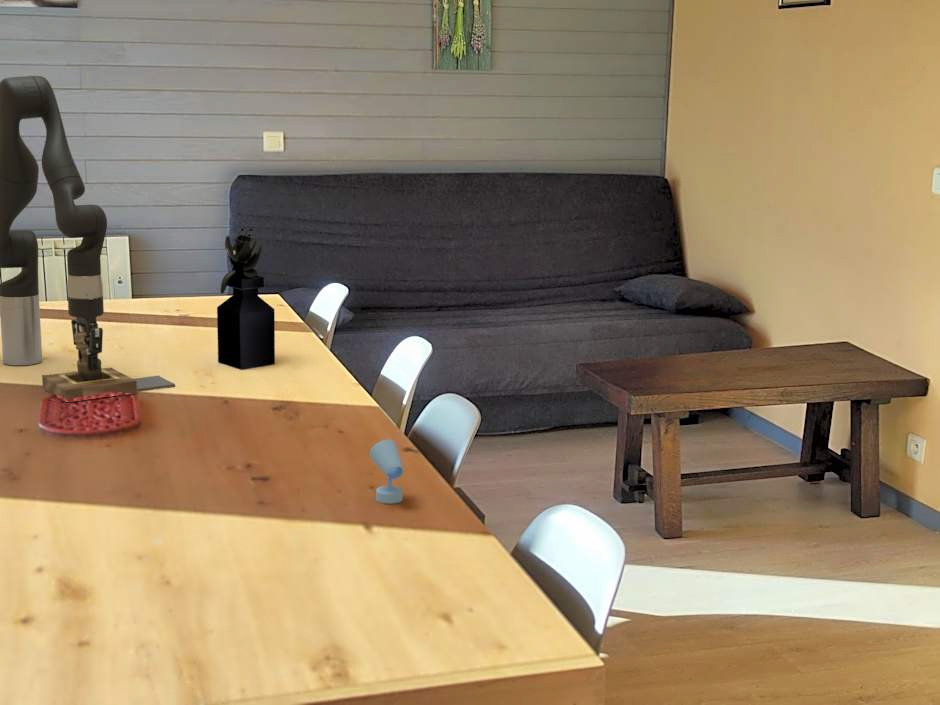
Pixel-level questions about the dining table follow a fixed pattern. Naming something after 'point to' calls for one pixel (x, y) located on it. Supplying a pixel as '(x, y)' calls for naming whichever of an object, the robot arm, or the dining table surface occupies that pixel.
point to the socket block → (88, 384)
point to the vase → (245, 312)
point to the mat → (152, 383)
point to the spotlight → (388, 470)
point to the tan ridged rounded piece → (85, 360)
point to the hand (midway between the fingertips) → (88, 367)
